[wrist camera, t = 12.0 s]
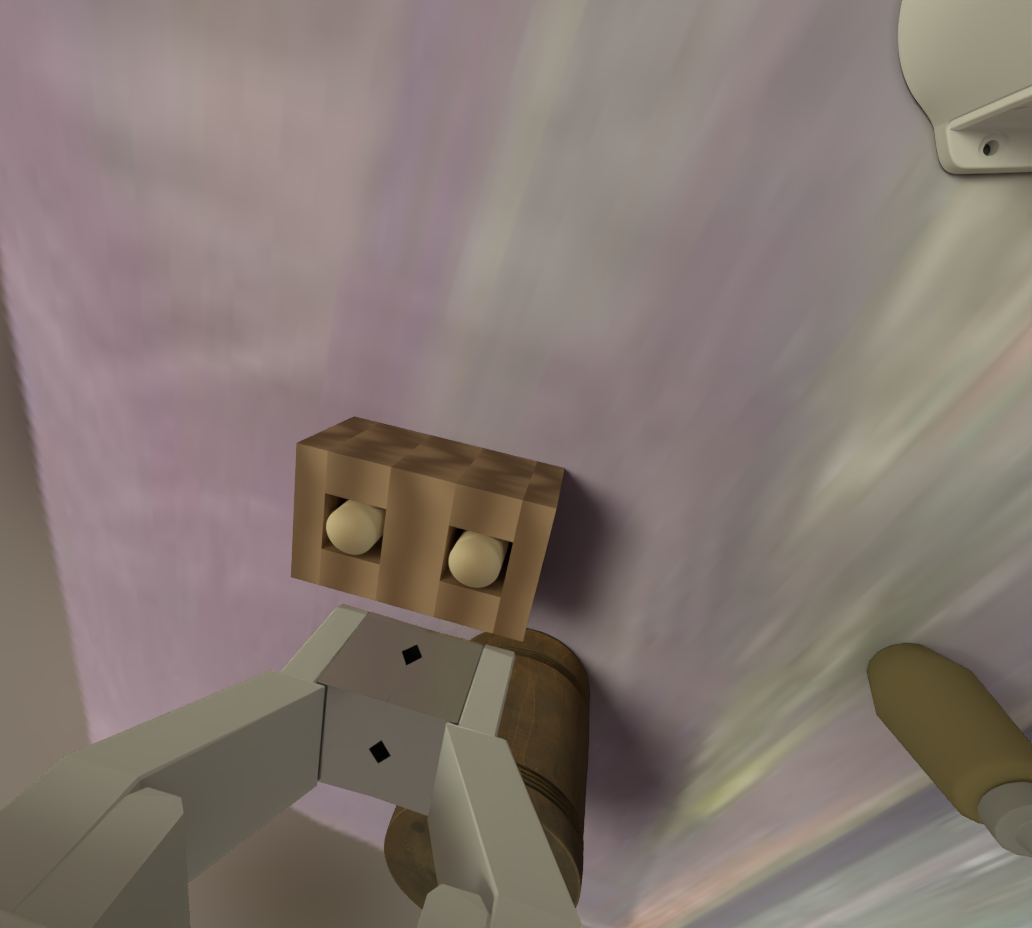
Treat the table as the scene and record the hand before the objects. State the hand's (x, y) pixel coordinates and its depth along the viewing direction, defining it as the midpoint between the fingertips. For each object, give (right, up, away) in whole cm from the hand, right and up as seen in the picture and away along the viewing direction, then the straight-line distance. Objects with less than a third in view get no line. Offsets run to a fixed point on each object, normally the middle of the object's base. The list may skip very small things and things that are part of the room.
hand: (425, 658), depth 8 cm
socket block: (-5, 0, +37) cm, 38 cm away
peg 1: (-10, +1, +36) cm, 38 cm away
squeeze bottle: (+37, -15, +36) cm, 53 cm away
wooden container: (+2, -20, +43) cm, 48 cm away
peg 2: (0, -2, +36) cm, 36 cm away
